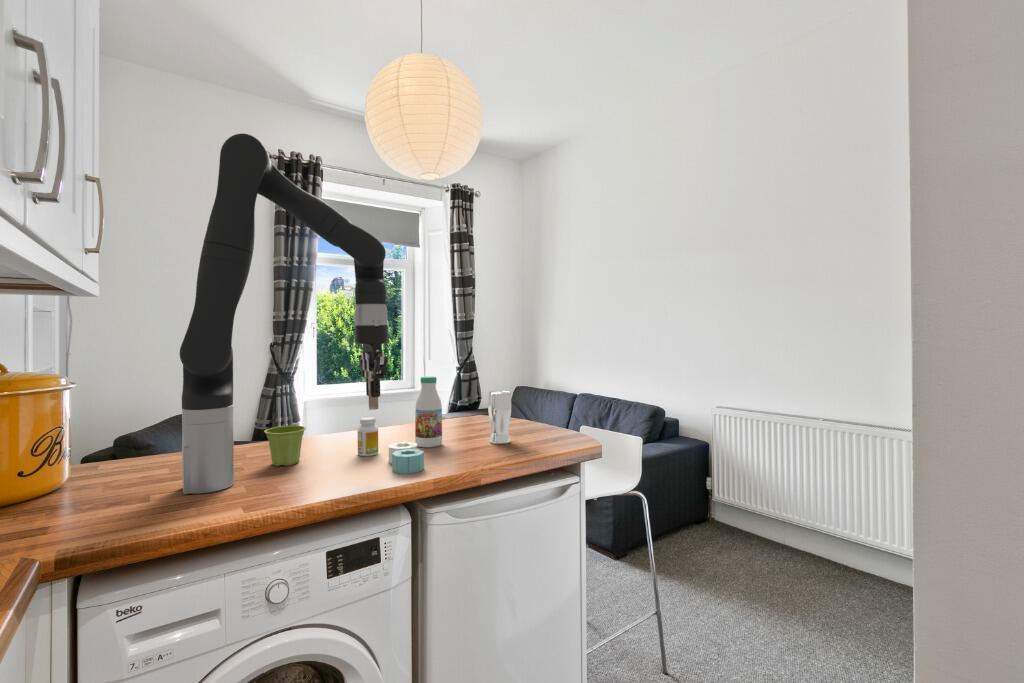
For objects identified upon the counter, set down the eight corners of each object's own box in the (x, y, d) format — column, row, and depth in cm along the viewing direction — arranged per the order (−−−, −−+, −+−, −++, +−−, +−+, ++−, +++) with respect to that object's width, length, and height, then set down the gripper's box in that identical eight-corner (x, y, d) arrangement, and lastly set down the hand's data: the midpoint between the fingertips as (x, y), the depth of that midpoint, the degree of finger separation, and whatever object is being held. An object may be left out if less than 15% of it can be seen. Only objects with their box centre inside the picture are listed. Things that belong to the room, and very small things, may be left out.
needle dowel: (370, 409, 114) (369, 363, 113) (367, 408, 115) (366, 363, 115) (379, 408, 115) (378, 362, 115) (376, 407, 117) (375, 362, 116)
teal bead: (400, 475, 111) (399, 458, 111) (388, 468, 117) (388, 451, 117) (427, 470, 115) (427, 453, 115) (415, 463, 121) (415, 447, 121)
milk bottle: (414, 443, 144) (413, 376, 143) (439, 441, 146) (439, 375, 145) (417, 449, 136) (416, 378, 136) (444, 447, 138) (443, 377, 138)
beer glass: (515, 441, 146) (515, 391, 145) (503, 445, 140) (503, 394, 140) (496, 438, 149) (496, 390, 149) (483, 442, 144) (483, 392, 143)
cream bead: (403, 465, 119) (402, 449, 119) (383, 461, 123) (382, 446, 122) (422, 459, 125) (422, 444, 125) (402, 455, 128) (402, 440, 128)
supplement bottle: (381, 451, 133) (381, 416, 133) (373, 456, 128) (373, 420, 127) (362, 451, 134) (362, 416, 133) (354, 456, 128) (354, 420, 128)
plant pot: (276, 470, 115) (276, 434, 115) (257, 464, 121) (257, 429, 120) (313, 462, 122) (313, 428, 122) (293, 456, 128) (293, 424, 128)
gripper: (346, 324, 118) (348, 394, 118) (365, 323, 107) (367, 401, 107) (376, 324, 122) (378, 392, 123) (397, 323, 111) (399, 397, 112)
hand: (373, 396), depth 115 cm, fingers closed on needle dowel, 2 cm apart
